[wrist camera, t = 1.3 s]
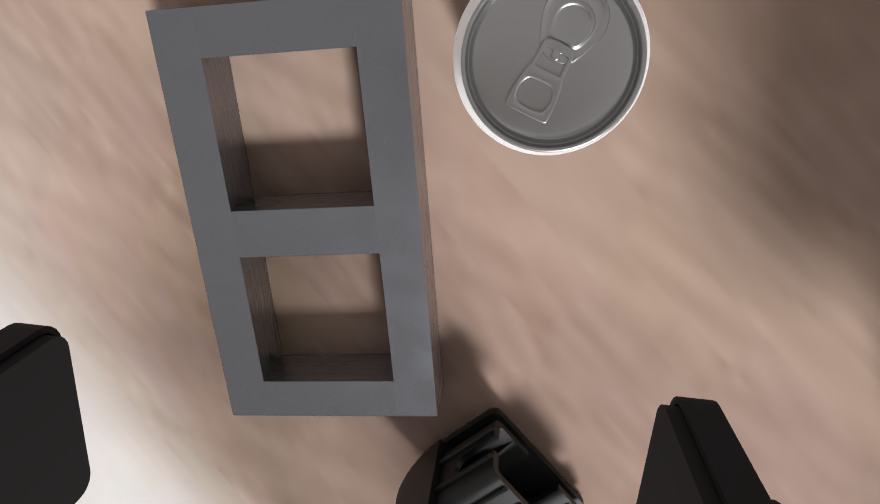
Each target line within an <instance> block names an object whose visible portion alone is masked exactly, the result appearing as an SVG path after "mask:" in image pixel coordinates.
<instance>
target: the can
mask: <svg viewBox="0 0 880 504" xmlns="http://www.w3.org/2000/svg"><path fill="white" fill-rule="evenodd" d="M649 58H650V38H649V30H648V25H647V21H646V18H645V14H644V12H643V9H642V7H641V5H640V3H639V1H638V0H470V1H469V3H468V5H467V7H466V8H465V10H464V12H463V14H462V17H461V19H460V22H459V25H458V28H457V31H456V36H455V41H454V48H453V70H454V77H455V82H456V86H457V89H458V92H459V95H460V97H461V100H462V102H463V104H464V106H465V108H466V110H467V111H468V113H469V114H470V116H471V117H472V119H473V120H474V121H475V122H476V124H477V125H478V126H479V127H480V128H481V129H482V130H483V131H484V132H485V133H486V134H488V135H489V136H490V137H492V138H493V139H494V140H496V141H497V142H499V143H501V144H503V145H505V146H507V147H509V148H511V149H514V150H517V151H520V152H524V153H528V154H535V155H557V154H564V153H568V152H572V151H576V150H579V149H581V148H584V147H586V146H588V145H590V144H592V143H594V142H596V141H598V140H599V139H601V138H602V137H604V136H605V135H606V134H608V133H609V132H610V131H611V130H613V129H614V128H615V127H616V126H617V125H618V124H619V123H620V122H621V121H622V120H623V119H624V117H625V116H626V115H627V114H628V112H629V111H630V109H631V108H632V107H633V105H634V103H635V102H636V100H637V98H638V96H639V94H640V92H641V89H642V87H643V84H644V81H645V78H646V75H647V70H648V65H649Z"/></svg>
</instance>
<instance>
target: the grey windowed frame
mask: <svg viewBox="0 0 880 504" xmlns="http://www.w3.org/2000/svg"><path fill="white" fill-rule="evenodd" d="M146 16H147V21H148V25H149V30H150V34H151V39H152V44H153V48H154V53H155V57H156V62H157V67H158V71H159V76H160V80H161V85H162V90H163V94H164V99H165V103H166V108H167V113H168V117H169V122H170V126H171V131H172V135H173V140H174V145H175V149H176V154H177V158H178V163H179V168H180V172H181V177H182V181H183V186H184V191H185V195H186V200H187V204H188V209H189V214H190V218H191V223H192V227H193V232H194V237H195V241H196V246H197V250H198V255H199V259H200V264H201V269H202V273H203V278H204V282H205V287H206V292H207V296H208V301H209V305H210V310H211V315H212V319H213V324H214V328H215V333H216V338H217V342H218V347H219V351H220V356H221V361H222V365H223V370H224V374H225V379H226V383H227V388H228V393H229V397H230V402H231V406H232V411H233V415H280V416H438V411H439V406H440V400H441V395H442V390H443V379H442V366H441V354H440V342H439V329H438V317H437V305H436V293H435V280H434V268H433V256H432V243H431V231H430V219H429V207H428V194H427V182H426V170H425V157H424V145H423V133H422V121H421V108H420V96H419V84H418V72H417V59H416V47H415V35H414V22H413V10H412V0H265V1H253V2H242V3H230V4H219V5H207V6H196V7H184V8H173V9H161V10H150V11H146ZM344 47H356V49H357V58H358V67H359V75H360V84H361V93H362V102H363V111H364V120H365V129H366V138H367V147H368V156H369V165H370V174H371V182H372V191H371V192H348V193H325V194H301V195H278V196H255V197H254V194H253V188H252V183H251V177H250V172H249V166H248V161H247V155H246V149H245V144H244V138H243V133H242V127H241V122H240V116H239V110H238V105H237V99H236V94H235V88H234V82H233V77H232V71H231V66H230V60H229V56H238V55H251V54H265V53H278V52H291V51H305V50H318V49H331V48H344ZM373 253H379V254H380V263H381V272H382V280H383V289H384V298H385V307H386V316H387V325H388V334H389V343H390V352H391V354H369V355H282V350H281V345H280V339H279V333H278V328H277V322H276V317H275V311H274V306H273V300H272V294H271V289H270V283H269V278H268V272H267V266H266V261H265V257H273V256H306V255H340V254H373Z"/></svg>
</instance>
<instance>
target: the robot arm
mask: <svg viewBox="0 0 880 504" xmlns="http://www.w3.org/2000/svg"><path fill="white" fill-rule="evenodd" d="M89 480H90V466H89V460H88V455H87V449H86V443H85V437H84V431H83V425H82V420H81V414H80V408H79V402H78V396H77V391H76V385H75V379H74V373H73V367H72V362H71V356H70V350H69V345H68V342H67V341H66V340H65V338H63V337H61V335H60V333H59V332H58V331H57V329H55V328H53V327H51V326H42V325H33V324H24V323H13V324H11V325H8V326H6V327H5V328H3V329H1V330H0V504H75V503H76V502H77V501H78V500H79V499H80V497H81V496H82V495H83V494H84V492H85V490H86V488H87V486H88V483H89ZM636 504H781V503H779V502H777V501H776V500H771V499H770V497H769V495H768V493H767V492H766V490H765V488H764V486H763V484H762V482H761V481H760V479H759V477H758V475H757V473H756V471H755V470H754V468H753V466H752V464H751V462H750V460H749V459H748V457H747V455H746V453H745V451H744V450H743V448H742V446H741V444H740V442H739V440H738V439H737V437H736V435H735V433H734V431H733V429H732V428H731V426H730V424H729V422H728V420H727V419H726V417H725V415H724V413H723V411H722V409H721V408H720V406H719V404H718V403H717V402H716V401H713V400H705V399H696V398H687V397H678V396H676V397H674V398H673V400H672V401H671V404H670V405H660V406H659V408H658V410H657V413H656V418H655V422H654V427H653V431H652V436H651V440H650V445H649V449H648V454H647V458H646V463H645V467H644V472H643V476H642V481H641V485H640V490H639V494H638V499H637V503H636Z"/></svg>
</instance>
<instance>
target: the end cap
mask: <svg viewBox="0 0 880 504" xmlns="http://www.w3.org/2000/svg"><path fill="white" fill-rule="evenodd" d="M396 504H584V503H583V499H582V497H581V496H580V495H579V494H578V493H577V492H576V491H575V490H574V489H573V487H572V486H571V485H570V484H569V483H568V482H567V481H566V480H565V479H564V478H563V477H562V476H561V474H560V473H559V472H558V471H557V470H556V469H555V468H554V467H553V466H552V465H551V464H550V463H549V461H548V460H547V459H546V458H545V457H544V456H543V455H542V454H541V453H540V452H539V451H538V450H537V449H536V447H535V446H534V445H533V444H532V443H531V442H530V441H529V440H528V439H527V438H526V437H525V436H524V434H523V433H522V432H521V431H520V430H519V429H518V428H517V427H516V426H515V425H514V424H513V423H512V421H511V420H510V419H509V418H508V417H507V416H506V415H505V414H504V413H503V412H502V411H501V410H499V409H497V408H492V409H489V410H487V411H486V412H484V413H483V414H481V415H480V416H478V417H477V418H475V419H474V420H472V421H470V422H469V423H467V424H466V425H464V426H463V427H461V428H460V429H458V430H457V431H455V432H454V433H452V434H451V435H449V436H448V437H446V438H445V439H444V440H443V441H442V440H439V441H438V442H437V443H435V444H434V445H432V446H431V447H430V448H429V449H428V450H427V451H426V452H425V453H424V454H423V455H422V456H421V457H420V458H419V459H418V460H417V461H416V463H415V464H414V465H413V466H412V468H411V469H410V470H409V472H408V473H407V475H406V477H405V478H404V480H403V482H402V484H401V486H400V488H399V491H398V494H397V498H396Z"/></svg>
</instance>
